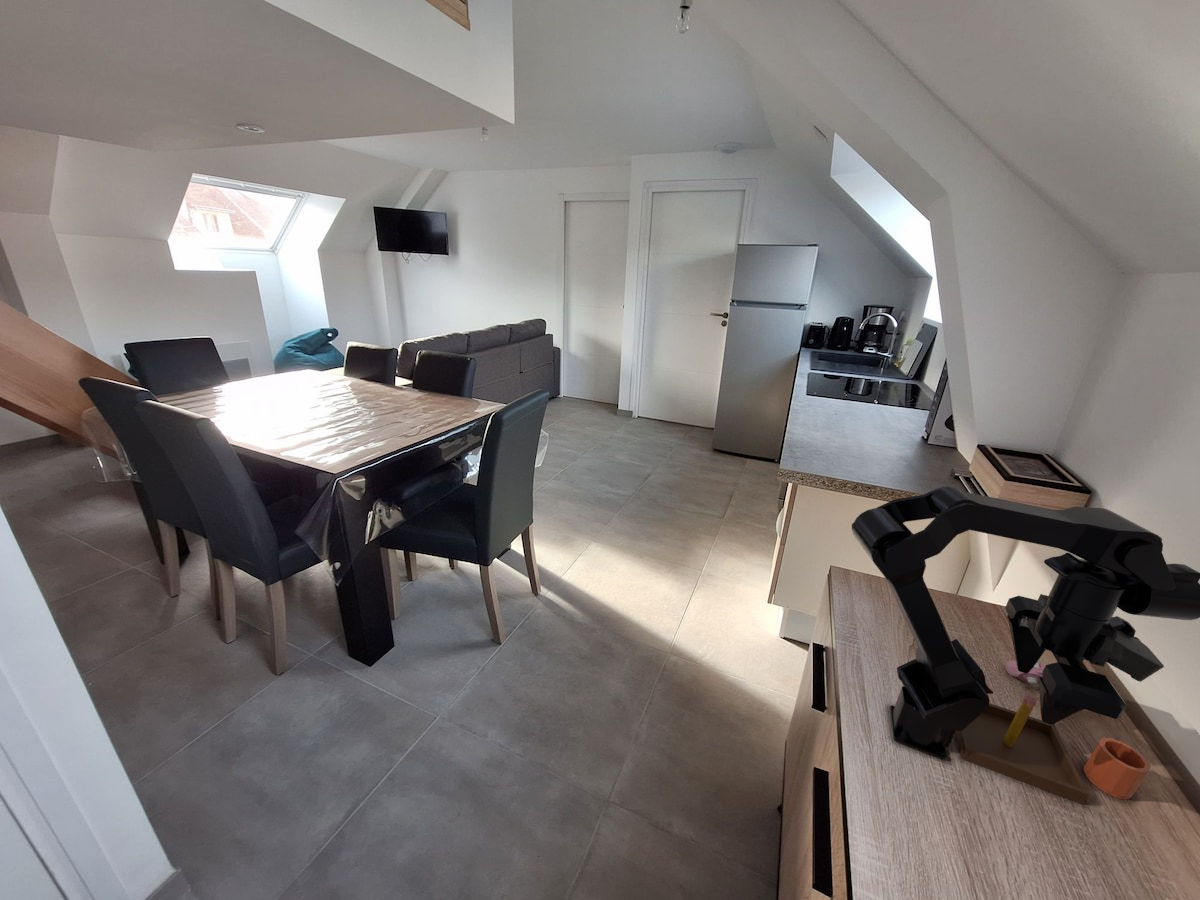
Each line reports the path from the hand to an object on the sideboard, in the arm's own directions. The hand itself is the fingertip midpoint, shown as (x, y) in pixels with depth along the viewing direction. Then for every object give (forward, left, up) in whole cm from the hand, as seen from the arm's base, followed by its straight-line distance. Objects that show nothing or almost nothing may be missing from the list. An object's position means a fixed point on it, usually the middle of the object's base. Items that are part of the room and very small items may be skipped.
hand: (1034, 695), depth 63 cm
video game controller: (+9, +16, -10) cm, 21 cm away
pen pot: (+11, 0, -10) cm, 15 cm away
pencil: (0, 0, -10) cm, 10 cm away
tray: (0, 0, -10) cm, 10 cm away
